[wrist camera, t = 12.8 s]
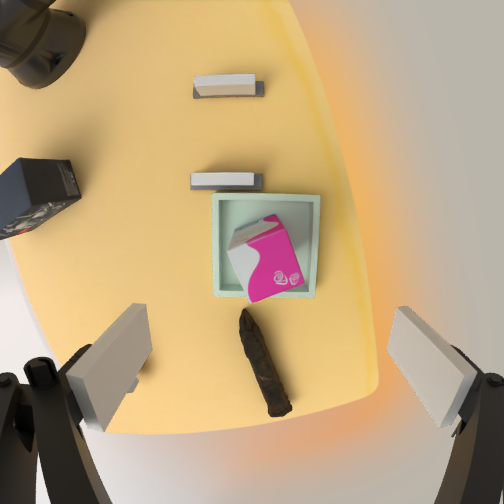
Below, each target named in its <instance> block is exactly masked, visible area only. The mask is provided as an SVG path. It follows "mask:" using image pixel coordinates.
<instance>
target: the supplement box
mask: <svg viewBox="0 0 504 504" xmlns="http://www.w3.org/2000/svg"><path fill="white" fill-rule="evenodd" d="M226 252H227V254H228V257H229V259H230V261H231V264H232V266H233V268H234V270H235V272H236V275H237V277H238V279H239V281H240V283H241V286H242V288H243V290H244V292H245V294H246V296H247V298H248V301H249V303H250V304H251V303H254V302H257V301H259V300H262V299H265V298H267V297H270V296H273V295H275V294H278V293H281V292H283V291H286V290H289V289H291V288H294V287H296V286H299V285H302V284H304V283H305V281H304V278H303V275H302V272H301V269H300V266H299V263H298V261H297V258H296V255H295V252H294V249H293V246H292V244H291V241H290V238H289V235H288V233H287V230H286V228H285V227H284V225H283V224H282V222H281V221H280V219H279V218H278V216H277V215H276V214H273V215H270V216H267V217H265V218H262V219H259V220H257V221H254V222H252V223H249V224H247V225H244V226H242V227H239V228H237V229H235V230H234V233H233V235H232V238H231V241H230V243H229V246H228V248H227V251H226Z"/></svg>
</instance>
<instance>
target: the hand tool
mask: <svg viewBox="0 0 504 504" xmlns="http://www.w3.org/2000/svg"><path fill="white" fill-rule="evenodd" d="M239 327H240V329H239V333H240V337H241V341H242V343H243V346H244V351H245V354H246V356H247V358H248V359H249V361H250V363H251V366H252V368H253V371H254V373H255V376H256V379H257V381H258V384H259V386H260V389H261V391H262V394H263V396H264V398H265V401H266V403H267V405H268V414H269V415H270V416H271V417H283V416H285V415H286V414H287V413H289V412H290V411H292V405H291V404H290V401H289V400H288V398H287V395H286V394H285V392H284V388H283V386H282V383H281V382H280V381H279V377H278V374H277V372H276V370H275V367H274V365H273V362H272V360H271V357H270V354H269V352H268V349H267V347H266V344H265V341H264V337H263V335H262V333H261V331H260V329H259V327H258V326H257V324H256V323H255V321H254V320H253V318H252V317H251V316H250V314H249V313H248V312H247V310H245V309H243V310H242V313H241V316H240V319H239Z"/></svg>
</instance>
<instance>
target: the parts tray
mask: <svg viewBox="0 0 504 504" xmlns="http://www.w3.org/2000/svg"><path fill="white" fill-rule="evenodd" d="M320 198H321V195H310V194H283V193H212V267H213V296H220V297H247V296H246V294H245V292H244V290H243V288H242V286H241V283H240V281H239V279H238V277H237V275H236V272H235V270H234V268H233V266H232V264H231V261H230V259H229V257H228V254H227V252H226V251H227V248H228V246H229V243H230V241H231V238H232V235H233V233H234V230H235V229H237V228H239V227H242V226H244V225H247V224H249V223H252V222H254V221H257V220H259V219H262V218H265V217H267V216H270V215H273V214H276V215H277V216H278V218H279V219H280V221H281V222H282V224H283V225H284V227H285V228H286V230H287V233H288V235H289V238H290V241H291V244H292V246H293V249H294V252H295V255H296V258H297V261H298V263H299V266H300V269H301V272H302V275H303V278H304V281H305V283H304V284H302V285H299V286H296V287H294V288H291V289H289V290H286V291H283V292H281V293H278V294H275V295H273V296H270V297H267V298H314V297H315V285H316V272H317V258H318V243H319V224H320Z"/></svg>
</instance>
